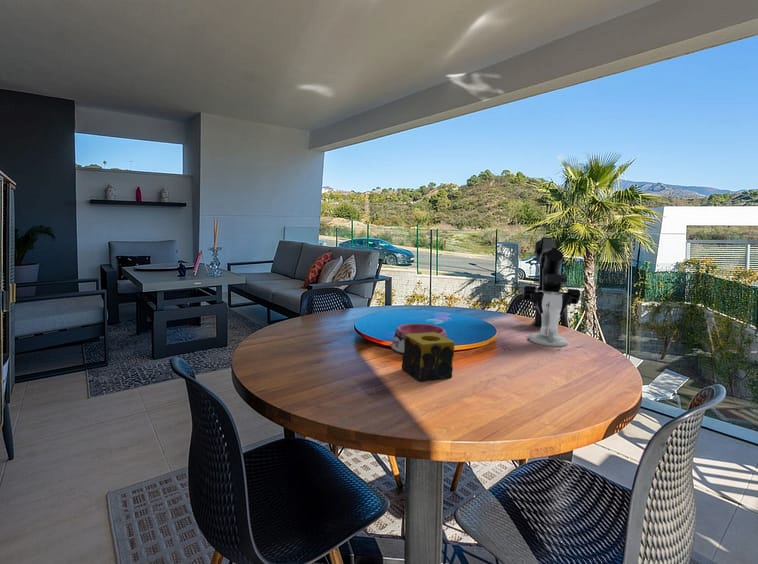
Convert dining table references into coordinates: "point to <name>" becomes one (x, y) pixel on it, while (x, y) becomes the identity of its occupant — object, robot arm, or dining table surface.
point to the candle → (428, 356)
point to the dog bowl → (411, 329)
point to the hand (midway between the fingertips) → (551, 314)
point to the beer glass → (551, 312)
